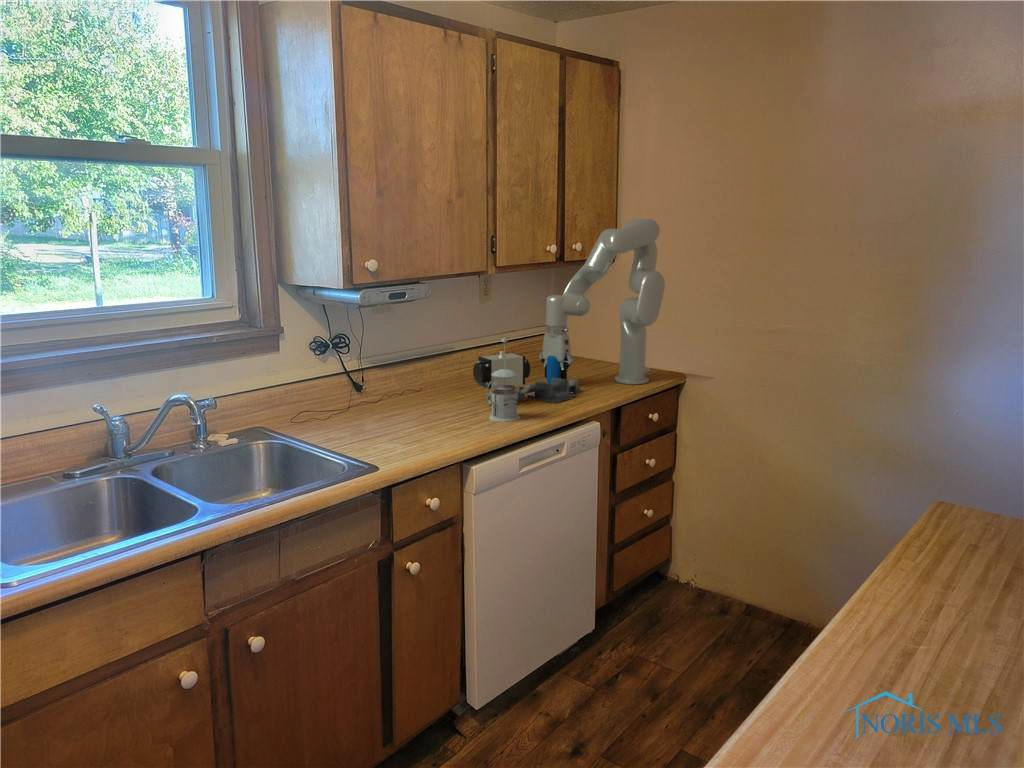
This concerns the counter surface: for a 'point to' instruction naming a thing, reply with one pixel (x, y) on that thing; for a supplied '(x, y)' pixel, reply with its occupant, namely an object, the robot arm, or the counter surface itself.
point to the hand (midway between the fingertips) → (555, 378)
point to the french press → (503, 396)
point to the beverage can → (552, 368)
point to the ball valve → (495, 363)
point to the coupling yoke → (549, 390)
